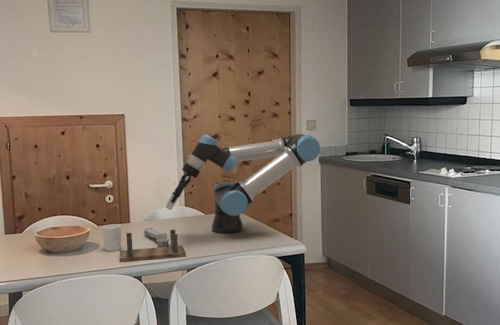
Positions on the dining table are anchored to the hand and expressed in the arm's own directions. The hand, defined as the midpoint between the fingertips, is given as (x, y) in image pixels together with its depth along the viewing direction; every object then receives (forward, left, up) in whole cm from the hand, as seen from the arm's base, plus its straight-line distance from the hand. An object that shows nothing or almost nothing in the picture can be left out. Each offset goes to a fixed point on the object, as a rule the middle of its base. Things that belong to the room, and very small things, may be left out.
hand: (168, 207), depth 246 cm
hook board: (+9, +21, -16) cm, 27 cm away
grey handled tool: (+6, -2, -16) cm, 17 cm away
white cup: (+25, +6, -16) cm, 30 cm away
